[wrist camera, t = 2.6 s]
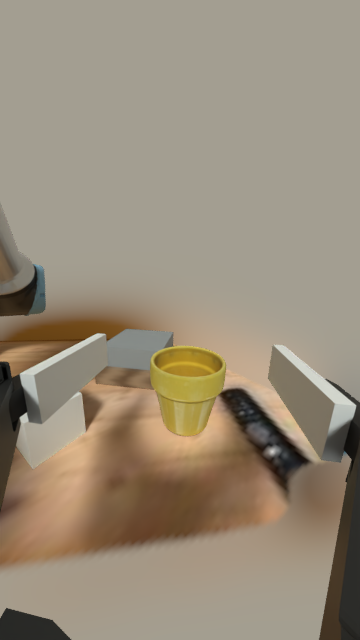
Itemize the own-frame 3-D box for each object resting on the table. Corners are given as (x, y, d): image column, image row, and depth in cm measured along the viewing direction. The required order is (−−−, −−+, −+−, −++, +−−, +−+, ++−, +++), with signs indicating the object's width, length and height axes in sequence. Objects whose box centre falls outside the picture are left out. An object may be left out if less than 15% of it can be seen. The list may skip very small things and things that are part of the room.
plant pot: (192, 389, 35) (194, 340, 32) (235, 427, 26) (243, 364, 24) (139, 409, 29) (138, 352, 27) (173, 465, 21) (176, 388, 18)
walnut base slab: (96, 386, 36) (94, 367, 35) (125, 356, 49) (124, 342, 48) (166, 393, 34) (167, 374, 33) (177, 360, 48) (177, 346, 47)
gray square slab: (101, 365, 36) (99, 346, 35) (127, 343, 47) (126, 328, 46) (161, 371, 34) (161, 351, 33) (173, 347, 46) (173, 332, 45)
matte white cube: (32, 470, 20) (23, 424, 18) (12, 442, 23) (3, 401, 22) (86, 432, 25) (82, 393, 23) (63, 413, 28) (58, 378, 26)
